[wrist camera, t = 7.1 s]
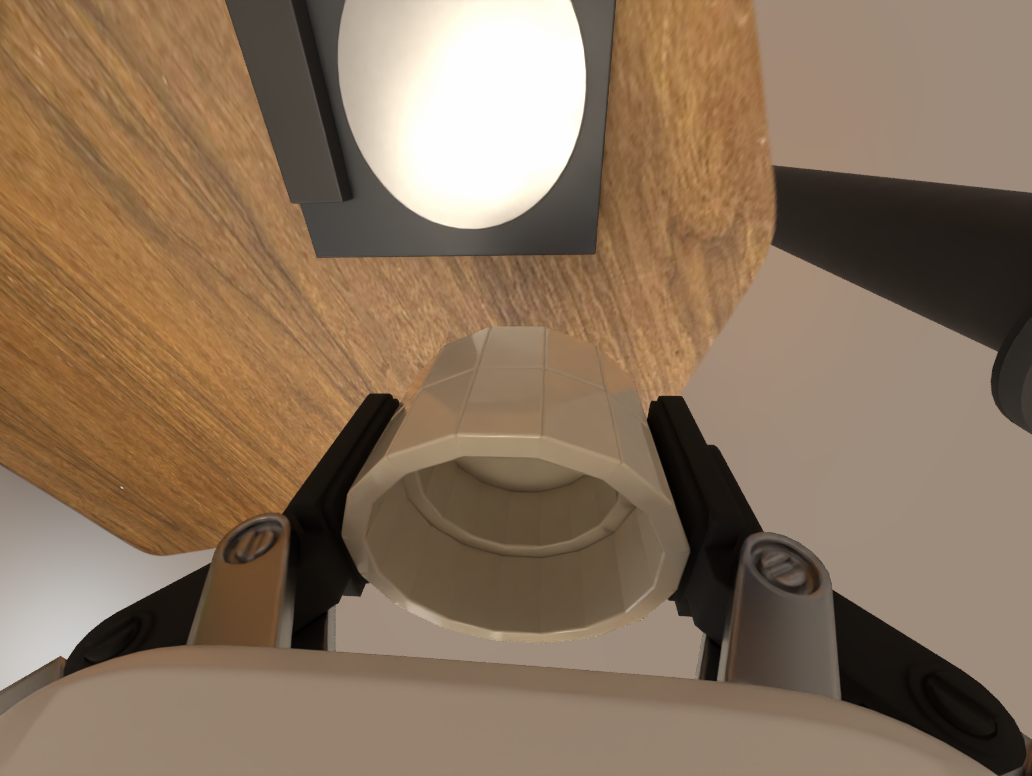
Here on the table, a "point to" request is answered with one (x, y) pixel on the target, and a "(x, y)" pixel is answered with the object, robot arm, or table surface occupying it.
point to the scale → (435, 120)
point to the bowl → (518, 494)
